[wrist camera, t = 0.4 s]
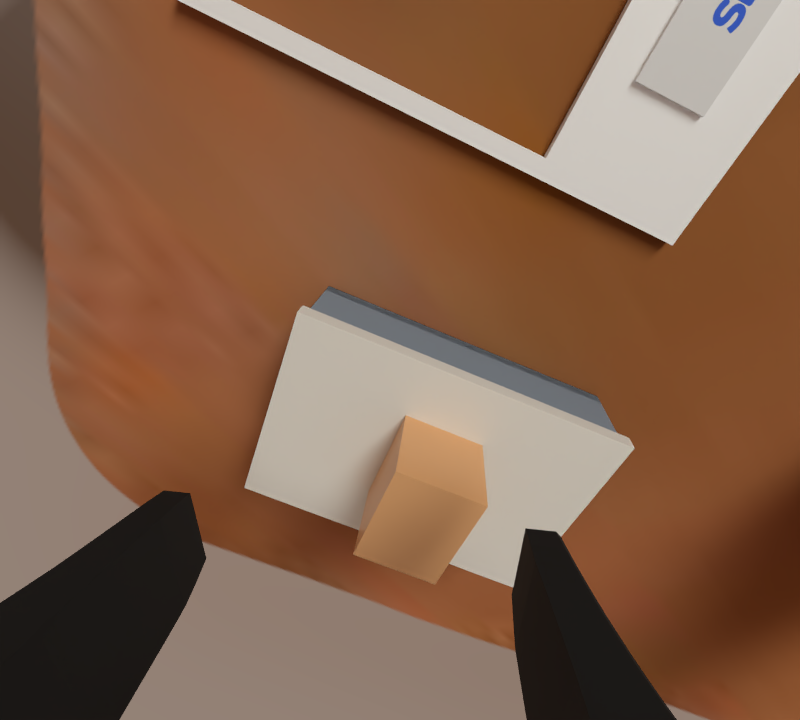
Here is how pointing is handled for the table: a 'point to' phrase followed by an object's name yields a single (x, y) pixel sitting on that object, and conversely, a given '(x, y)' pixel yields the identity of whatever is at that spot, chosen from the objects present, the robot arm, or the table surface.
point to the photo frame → (620, 102)
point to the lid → (422, 453)
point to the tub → (462, 355)
